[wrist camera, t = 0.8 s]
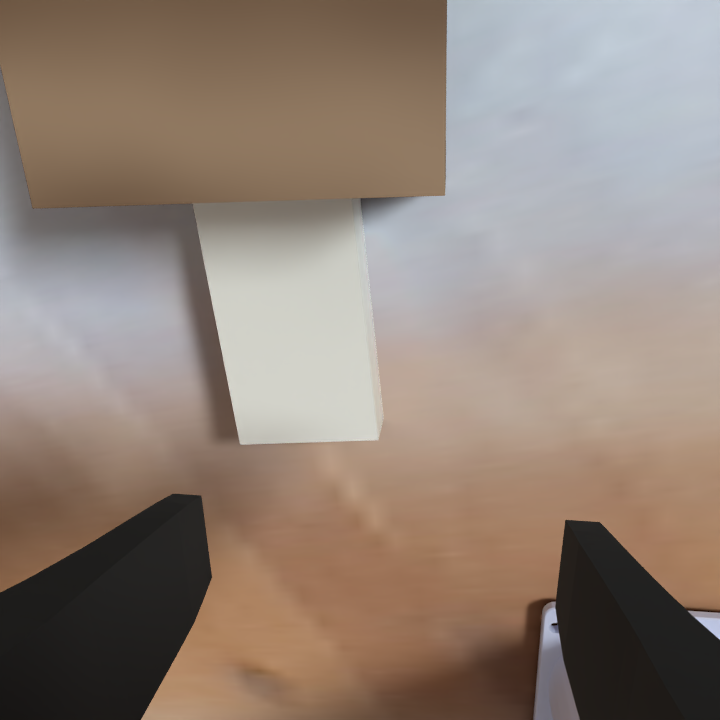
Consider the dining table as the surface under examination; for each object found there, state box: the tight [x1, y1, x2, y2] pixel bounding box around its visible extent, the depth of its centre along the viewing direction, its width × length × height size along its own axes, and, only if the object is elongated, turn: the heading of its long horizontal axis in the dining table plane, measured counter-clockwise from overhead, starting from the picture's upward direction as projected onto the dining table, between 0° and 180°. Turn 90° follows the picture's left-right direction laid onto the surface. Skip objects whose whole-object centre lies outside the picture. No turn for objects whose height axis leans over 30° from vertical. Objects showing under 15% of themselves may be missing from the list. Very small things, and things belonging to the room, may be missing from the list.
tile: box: [192, 198, 384, 445], centre depth 20 cm, size 9×5×2 cm, turn 6°
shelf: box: [0, 0, 447, 209], centre depth 14 cm, size 8×10×6 cm
